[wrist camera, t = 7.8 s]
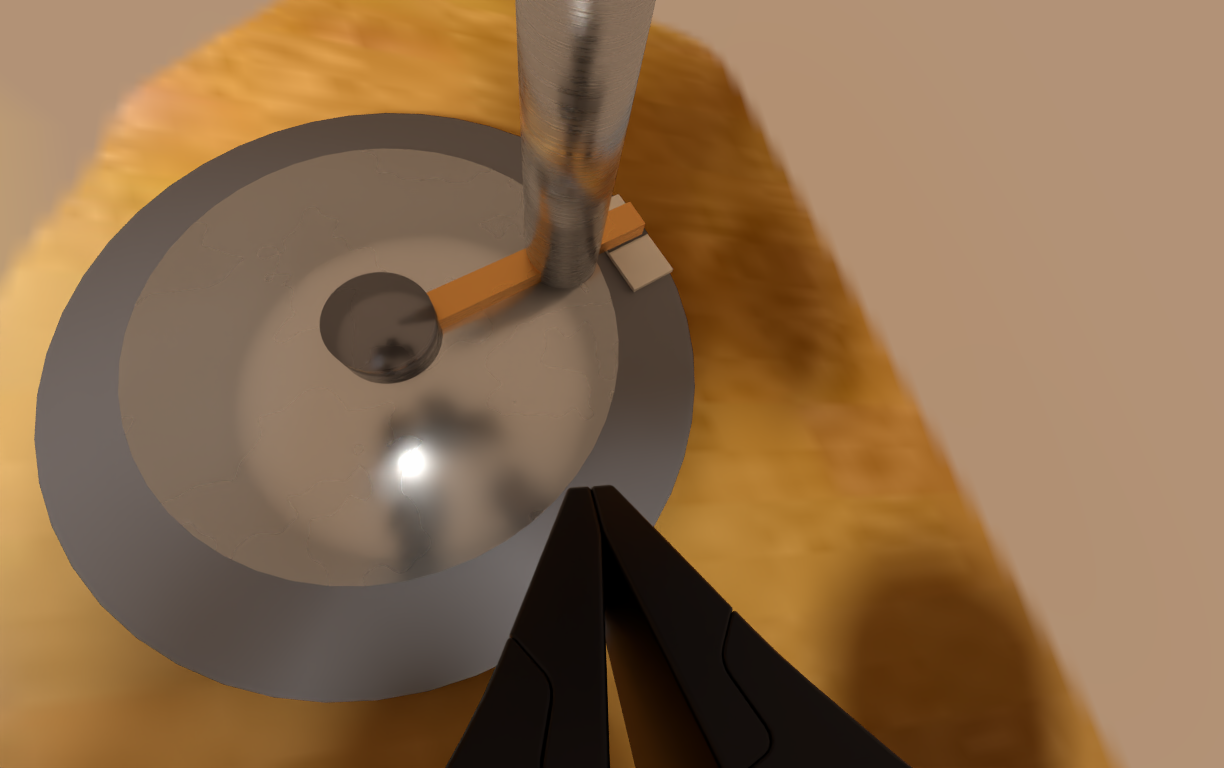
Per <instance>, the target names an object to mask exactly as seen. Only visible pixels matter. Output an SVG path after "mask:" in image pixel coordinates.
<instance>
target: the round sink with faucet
mask: <svg viewBox="0 0 1224 768" xmlns="http://www.w3.org/2000/svg"><path fill="white" fill-rule="evenodd" d="M655 1H656V0H516V24H517V49H518V74H519V99H520V124H521V149H522V174H523V185H522V184H520V183H518V182H517V181H515V180H513V179H512V178H510V177H508V176H505V175H503V174H501V173H499V172H497V171H495V170H493V169H491V168H488V167H486V166H483V165H480V164H477V163H474V162H471V161H468V160H465V159H462V158H458V157H454V156H449V155H445V154H441V153H436V152H428V151H420V150H412V149H383V148H380V149H367V150H354V151H347V152H342V153H336V154H330V155H325V156H321V157H317V158H314V159H310V160H306V161H303V162H299V163H296V164H293V165H290V166H288V167H285V168H283V169H280V170H278V171H275V172H273V173H270V174H268V175H266V176H264V177H262V178H260V179H258V180H256V181H254V182H252V183H250V184H248V185H246V186H245V187H243V188H241V189H239V190H237V191H236V192H234V193H233V194H231V195H230V196H228V197H227V198H225V199H224V200H223V201H221V202H220V203H218V204H217V205H215V206H214V207H212V208H211V209H210V210H209V211H208V212H207V213H205V214H204V215H203V216H202V217H201V218H199V219H198V220H197V221H196V222H195V223H194V224H192V225H191V226H190V227H189V228H188V229H187V230H186V231H185V232H184V234H183V235H182V236H181V237H180V238H179V239H178V240H177V241H176V242H175V243H174V244H173V245H172V246H171V248H170V249H169V250H168V251H167V253H166V254H165V255H164V257H163V258H162V260H161V261H160V262H159V264H158V265H157V266H156V268H155V269H154V271H153V272H152V273H151V275H150V277H149V279H148V280H147V282H146V284H145V286H144V288H143V290H142V292H141V294H140V296H139V297H138V299H137V301H136V303H135V306H134V309H133V312H132V314H131V317H130V320H129V323H128V326H127V328H126V331H125V335H124V341H123V346H122V351H121V356H120V361H119V383H118V397H119V405H120V412H121V419H122V426H123V429H124V433H125V436H126V439H127V442H128V445H129V448H130V451H131V454H132V457H133V459H134V461H135V463H136V465H137V467H138V469H139V471H140V473H141V474H142V476H143V478H144V480H145V482H146V484H147V486H148V487H149V488H150V490H151V491H152V492H153V494H154V495H155V496H156V498H157V499H158V500H159V501H160V503H161V504H162V505H163V507H164V508H165V509H166V511H167V512H168V513H169V514H170V515H171V516H172V517H173V518H174V519H176V520H177V521H178V522H179V523H180V524H181V525H182V526H183V527H184V528H185V529H186V530H187V531H189V532H190V533H191V534H192V535H193V536H194V537H196V538H197V539H199V540H200V541H202V542H203V543H205V544H206V545H208V546H209V547H211V548H212V549H214V550H215V551H217V552H218V553H220V554H221V555H223V556H225V557H227V558H229V559H232V560H234V561H236V562H238V563H240V564H243V565H245V566H247V567H249V568H251V569H254V570H256V571H259V572H263V573H266V574H270V575H273V576H276V577H280V578H283V579H287V580H290V581H296V582H303V583H311V584H318V585H325V586H372V585H380V584H387V583H395V582H403V581H407V580H411V579H415V578H419V577H423V576H426V575H430V574H434V573H438V572H441V571H444V570H446V569H449V568H451V567H454V566H456V565H459V564H461V563H464V562H466V561H469V560H471V559H474V558H476V557H478V556H480V555H482V554H484V553H486V552H487V551H489V550H491V549H493V548H495V547H497V546H498V545H500V544H502V543H504V542H506V541H507V540H509V539H510V538H512V537H513V536H514V535H516V534H517V533H518V532H520V531H521V530H523V529H524V528H525V527H527V526H528V525H529V524H531V523H532V522H533V521H535V520H536V519H537V518H538V517H539V516H540V515H541V514H542V513H543V512H544V511H545V510H546V509H547V508H548V507H549V506H550V505H551V504H553V503H554V502H555V501H556V500H557V498H558V497H559V496H560V495H561V493H562V492H563V491H564V490H565V489H566V487H567V486H568V485H569V484H570V482H571V481H572V480H573V479H574V478H575V476H576V475H577V473H578V472H579V470H580V469H581V467H582V465H583V464H584V462H585V461H586V459H587V457H588V456H589V454H590V453H591V451H592V449H593V448H594V446H595V443H596V441H597V439H598V437H599V435H600V432H601V430H602V428H603V426H604V424H605V421H606V418H607V415H608V412H609V408H610V405H611V402H612V398H613V395H614V390H615V384H616V377H617V371H618V346H619V339H618V331H617V323H616V315H615V311H614V307H613V303H612V300H611V296H610V292H609V289H608V287H607V284H606V282H605V279H604V277H603V275H602V272H601V270H600V267H599V266H598V264H597V260H598V255H599V254H601V253H603V252H605V251H607V250H610V249H612V248H614V247H616V246H618V245H620V244H622V243H624V242H626V241H628V240H631V239H633V238H635V237H637V236H639V235H641V234H642V232H643V230H644V227H645V222H644V221H643V219H642V218H641V217H640V215H639V214H638V212H637V211H636V210H635V208H634V207H633V205H632V204H631V202H628V203H625V204H623V205H621V206H619V207H616V208H614V209H612V210H610V211H609V206H610V202H611V197H612V193H613V189H614V184H615V180H616V175H617V171H618V166H619V162H620V157H621V153H622V148H623V144H624V139H625V135H626V131H627V126H628V122H629V117H630V113H631V108H632V104H633V99H634V95H635V90H636V86H637V81H638V77H639V73H640V68H641V64H642V59H643V55H644V50H645V46H646V41H647V37H648V32H649V28H650V23H651V19H652V15H653V10H654V5H655Z"/></svg>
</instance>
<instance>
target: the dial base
mask: <svg viewBox="0 0 1224 768" xmlns="http://www.w3.org/2000/svg"><path fill="white" fill-rule="evenodd" d="M380 148H383V149H412V150H420V151H428V152H436V153H441V154H445V155H449V156H454V157H458V158H462V159H465V160H468V161H471V162H474V163H477V164H480V165H483V166H486V167H488V168H491V169H493V170H495V171H497V172H499V173H501V174H503V175H505V176H508V177H510V178H512V179H513V180H515V181H517V182H518V183H520V184H522V185H523V174H522V149H521V137H519V136H516V135H513V134H510V133H507V132H504V131H501V130H499V129H496V128H493V127H490V126H486V125H481V124H477V123H473V122H468V121H464V120H460V119H455V118H447V117H439V116H431V115H423V114H396V113H381V114H367V115H353V116H345V117H339V118H333V119H327V120H321V121H315V122H310V123H307V124H303V125H299V126H296V127H292V128H288V129H285V130H281V131H277V132H274V133H272V134H269V135H266V136H264V137H261V138H259V139H256V140H253V141H251V142H248V143H246V144H243V145H240V146H238V147H236V148H234V149H232V150H230V151H228V152H226V153H224V154H222V155H220V156H218V157H216V158H214V159H212V160H210V161H209V162H207V163H205V164H203V165H201V166H200V167H198V168H197V169H195V170H194V171H192V172H190V173H189V174H187V175H186V176H184V177H183V178H181V179H180V180H178V181H177V182H175V183H173V184H172V185H170V186H169V187H168V188H167V189H165V190H164V191H163V192H162V193H160V194H159V195H158V196H157V197H156V198H154V199H153V200H152V201H151V202H149V203H148V204H147V205H146V206H145V207H143V208H142V209H141V210H140V211H138V212H137V213H136V214H135V215H134V216H133V217H132V219H131V220H130V221H129V222H128V223H127V224H126V225H125V226H124V227H123V228H122V229H121V230H120V231H119V232H118V233H117V234H116V235H115V236H114V237H113V238H112V239H111V240H110V241H109V242H108V244H107V245H106V246H105V248H104V249H103V250H102V252H101V253H100V254H99V256H98V257H97V258H96V260H95V261H94V262H93V264H92V265H91V266H90V268H89V269H88V270H87V272H86V273H85V274H84V276H83V277H82V279H81V281H80V283H79V284H78V286H77V288H76V290H75V291H74V293H73V295H72V297H71V299H70V300H69V302H68V304H67V306H66V307H65V309H64V311H63V313H62V315H61V318H60V320H59V323H58V325H57V328H56V331H55V333H54V336H53V338H52V341H51V343H50V346H49V349H48V351H47V354H46V358H45V363H44V367H43V372H42V376H41V381H40V385H39V390H38V394H37V406H36V422H35V439H34V440H35V449H36V458H37V467H38V476H39V484H40V488H41V491H42V494H43V498H44V501H45V505H46V508H47V511H48V515H49V518H50V522H51V525H52V528H53V530H54V532H55V534H56V536H57V538H58V540H59V542H60V544H61V546H62V548H63V550H64V552H65V554H66V556H67V558H68V560H69V562H70V563H71V565H72V567H73V569H74V570H75V571H76V573H77V574H78V575H79V577H80V578H81V579H82V581H83V582H84V583H85V585H86V586H87V587H88V589H89V590H90V591H91V593H92V594H93V595H94V597H95V598H96V599H97V601H98V602H99V603H100V605H101V606H103V607H104V608H105V609H106V610H107V611H108V612H109V613H110V614H111V615H112V616H113V617H114V618H115V619H117V620H118V621H119V622H120V623H121V624H122V625H123V626H124V627H125V628H126V629H127V630H128V631H130V632H131V633H132V634H133V635H134V636H135V637H136V638H138V639H139V640H141V641H142V642H144V643H145V644H147V645H148V646H150V647H151V648H153V649H155V650H156V651H158V652H159V653H161V654H162V655H164V656H165V657H167V658H168V659H170V660H172V661H173V662H175V663H176V664H178V665H180V666H182V667H185V668H187V669H189V670H192V671H194V672H196V673H199V674H201V675H203V676H206V677H208V678H210V679H212V680H215V681H217V682H219V683H222V684H224V685H228V686H232V687H236V688H240V689H244V690H248V691H251V692H255V693H259V694H263V695H267V696H271V697H276V698H286V699H296V700H306V701H316V702H349V701H372V700H382V699H387V698H393V697H398V696H404V695H409V694H415V693H420V692H426V691H430V690H433V689H436V688H439V687H442V686H446V685H449V684H452V683H455V682H458V681H461V680H464V679H467V678H470V677H473V676H476V675H479V674H481V673H483V672H485V671H487V670H489V669H491V668H493V667H495V666H496V665H497V663H498V661H499V658H500V656H501V653H502V651H503V648H504V646H505V643H506V641H507V639H508V638H509V634H510V632H511V629H512V627H513V624H514V622H515V619H516V617H517V614H518V612H519V609H520V607H521V604H522V601H523V599H524V596H525V594H526V591H527V589H528V586H529V584H530V581H531V579H532V576H533V574H534V571H535V569H536V566H537V564H538V561H539V559H540V556H541V554H542V551H543V549H544V546H545V544H546V541H547V539H548V536H549V534H550V531H551V529H552V526H553V524H554V521H555V519H556V516H557V514H558V511H559V509H560V506H561V504H562V501H563V499H564V496H565V494H566V491H567V490H568V489H569V488H571V487H584V486H587V487H589V488H590V489H591V488H592V487H593V486H599V485H612V486H614V487H615V488H616V489H617V490H618V491H619V492H620V493H621V494H622V495H623V496H624V497H625V498H626V499H627V500H628V501H629V502H630V503H631V504H632V505H633V506H634V507H635V508H636V509H637V510H638V511H639V512H640V513H641V515H642V516H643V517H644V518H645V519H646V520H647V521H648V522H649V523H650V524H651V525H652V526H653V527H654V525H655V523H656V521H657V520H658V518H659V516H660V514H661V512H662V510H663V508H664V506H665V504H666V502H667V500H668V498H669V497H670V495H671V492H672V489H673V486H674V484H675V481H676V478H677V475H678V473H679V470H680V467H681V465H682V462H683V459H684V455H685V450H686V446H687V441H688V437H689V432H690V428H691V423H692V413H693V401H694V389H695V382H694V362H693V350H692V344H691V339H690V333H689V328H688V322H687V318H686V315H685V312H684V309H683V306H682V303H681V299H680V296H679V293H678V290H677V288H676V285H675V283H674V281H673V279H672V277H671V275H670V273H671V272H672V271H673V268H672V267H671V265H670V264H669V263H668V261H667V260H666V259H665V257H664V256H663V254H662V253H661V252H660V250H659V249H658V248H657V246H656V245H655V243H654V242H653V241H652V239H651V238H650V237H649V235H648V233H647V231H646V230H645V229H644V230H643V232H642V234H641V235H639V236H637V237H635V238H633V239H631V240H628V241H626V242H624V243H622V244H620V245H618V246H616V247H614V248H612V249H610V250H607V251H605V252H603V253H601V254H599V255H598V260H597V264H598V266H599V267H600V270H601V272H602V275H603V277H604V279H605V282H606V284H607V287H608V289H609V292H610V296H611V300H612V303H613V307H614V311H615V315H616V323H617V331H618V339H619V346H618V371H617V377H616V384H615V390H614V395H613V398H612V402H611V405H610V408H609V412H608V415H607V418H606V421H605V424H604V426H603V428H602V430H601V432H600V435H599V437H598V439H597V441H596V443H595V446H594V448H593V449H592V451H591V453H590V454H589V456H588V457H587V459H586V461H585V462H584V464H583V465H582V467H581V469H580V470H579V472H578V473H577V475H576V476H575V478H574V479H573V480H572V481H571V482H570V484H569V485H568V486H567V487H566V489H565V490H564V491H563V492H562V493H561V495H560V496H559V497H558V498H557V500H556V501H555V502H554V503H553V504H551V505H550V506H549V507H548V508H547V509H546V510H545V511H544V512H543V513H542V514H541V515H540V516H539V517H538V518H537V519H536V520H535V521H533V522H532V523H531V524H529V525H528V526H527V527H525V528H524V529H523V530H521V531H520V532H518V533H517V534H516V535H514V536H513V537H512V538H510V539H509V540H507V541H506V542H504V543H502V544H500V545H498V546H497V547H495V548H493V549H491V550H489V551H487V552H486V553H484V554H482V555H480V556H478V557H476V558H474V559H471V560H469V561H466V562H464V563H461V564H459V565H456V566H454V567H451V568H449V569H446V570H444V571H441V572H438V573H434V574H430V575H426V576H423V577H419V578H415V579H411V580H407V581H403V582H395V583H387V584H380V585H372V586H325V585H318V584H311V583H303V582H296V581H290V580H287V579H283V578H280V577H276V576H273V575H270V574H266V573H263V572H259V571H256V570H254V569H251V568H249V567H247V566H245V565H243V564H240V563H238V562H236V561H234V560H232V559H229V558H227V557H225V556H223V555H221V554H220V553H218V552H217V551H215V550H214V549H212V548H211V547H209V546H208V545H206V544H205V543H203V542H202V541H200V540H199V539H197V538H196V537H194V536H193V535H192V534H191V533H190V532H189V531H187V530H186V529H185V528H184V527H183V526H182V525H181V524H180V523H179V522H178V521H177V520H176V519H174V518H173V517H172V516H171V515H170V514H169V513H168V512H167V511H166V509H165V508H164V507H163V505H162V504H161V503H160V501H159V500H158V499H157V498H156V496H155V495H154V494H153V492H152V491H151V490H150V488H149V487H148V486H147V484H146V482H145V480H144V478H143V476H142V474H141V473H140V471H139V469H138V467H137V465H136V463H135V461H134V459H133V457H132V454H131V451H130V448H129V445H128V442H127V439H126V436H125V433H124V429H123V426H122V419H121V412H120V405H119V397H118V383H119V361H120V356H121V351H122V346H123V341H124V335H125V331H126V328H127V326H128V323H129V320H130V317H131V314H132V312H133V309H134V306H135V303H136V301H137V299H138V297H139V296H140V294H141V292H142V290H143V288H144V286H145V284H146V282H147V280H148V279H149V277H150V275H151V273H152V272H153V271H154V269H155V268H156V266H157V265H158V264H159V262H160V261H161V260H162V258H163V257H164V255H165V254H166V253H167V251H168V250H169V249H170V248H171V246H172V245H173V244H174V243H175V242H176V241H177V240H178V239H179V238H180V237H181V236H182V235H183V234H184V232H185V231H186V230H187V229H188V228H189V227H190V226H191V225H192V224H194V223H195V222H196V221H197V220H198V219H199V218H201V217H202V216H203V215H204V214H205V213H207V212H208V211H209V210H210V209H211V208H212V207H214V206H215V205H217V204H218V203H220V202H221V201H223V200H224V199H225V198H227V197H228V196H230V195H231V194H233V193H234V192H236V191H237V190H239V189H241V188H243V187H245V186H246V185H248V184H250V183H252V182H254V181H256V180H258V179H260V178H262V177H264V176H266V175H268V174H270V173H273V172H275V171H278V170H280V169H283V168H285V167H288V166H290V165H293V164H296V163H299V162H303V161H306V160H310V159H314V158H317V157H321V156H325V155H330V154H336V153H342V152H347V151H354V150H367V149H380ZM623 204H625V202H624V201H623V199H622V198H621V197H620V195H619V194H617V195H615V196H613V195H612V197H611V202H610V206H609V211H610V210H612V209H614V208H616V207H619V206H621V205H623Z"/></svg>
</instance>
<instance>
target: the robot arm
mask: <svg viewBox="0 0 1224 768" xmlns="http://www.w3.org/2000/svg"><path fill="white" fill-rule="evenodd" d="M606 645H607V649H608V654H609V658H610V662H611V666H612V671H613V675H614V679H615V683H616V687H617V692H618V696H619V700H620V704H621V709H622V713H623V717H624V721H625V725H626V730H627V734H628V738H629V742H630V747H631V751H632V755H633V759H634V764H635V768H913V767H911V766H910V765H908V764H907V763H906V762H905V761H903V760H902V759H901V758H900V757H898V756H897V755H896V754H895V753H893V752H892V751H891V750H890V749H889V748H888V747H886V746H885V745H884V744H883V743H882V742H881V741H879V740H878V739H877V738H876V737H875V736H873V735H872V734H871V733H870V732H869V731H868V730H866V729H865V728H864V727H863V726H862V725H861V724H859V723H858V722H857V721H856V720H855V719H854V718H852V717H851V716H850V715H849V714H848V713H846V712H845V711H844V710H843V709H842V708H841V707H839V706H838V705H837V704H836V703H835V702H834V701H832V700H831V699H830V698H829V697H828V696H827V695H825V694H824V693H823V692H822V691H821V690H819V689H818V688H817V687H816V686H815V685H814V684H812V683H811V682H810V681H809V680H808V679H807V678H806V677H804V676H803V675H802V674H801V673H800V672H799V671H798V670H797V669H795V668H794V667H793V666H792V665H791V664H790V663H789V662H788V661H786V660H785V659H784V658H783V657H782V656H781V655H780V654H779V653H778V652H777V651H776V650H775V649H773V648H772V647H771V646H770V645H769V644H768V643H767V642H766V641H765V640H764V639H763V638H762V637H761V636H760V635H759V634H758V633H757V632H756V631H755V630H754V629H753V628H752V627H751V626H750V625H749V624H748V623H747V622H746V621H745V620H744V619H743V618H742V617H741V616H740V615H739V614H738V613H737V612H736V611H733V612H732V607H731V606H730V605H729V604H728V603H727V602H726V601H725V600H724V599H723V598H722V597H721V596H720V594H719V593H718V592H717V591H716V590H715V589H714V588H713V587H712V586H711V585H710V584H709V583H708V582H707V581H706V580H705V579H704V578H703V577H702V576H701V575H700V574H699V573H698V572H697V571H696V570H695V569H694V568H693V567H692V566H691V565H690V564H689V563H688V562H687V561H686V560H685V559H684V558H683V557H682V556H681V554H680V553H679V552H678V551H677V550H676V549H675V548H674V547H673V546H672V545H671V544H670V543H669V542H668V541H667V540H666V539H665V538H664V537H663V536H662V535H661V534H660V533H659V532H658V531H657V530H656V529H655V528H654V527H653V526H652V525H651V524H650V523H649V522H648V521H647V520H646V519H645V518H644V517H643V516H642V515H641V513H640V512H639V511H638V510H637V509H636V508H635V507H634V506H633V505H632V504H631V503H630V502H629V501H628V500H627V499H626V498H625V497H624V496H623V495H622V494H621V493H620V492H619V491H618V490H617V489H616V488H615V487H614V486H612V485H599V486H593V487H592V488H591V489H590V488H589V487H587V486H584V487H571V488H569V489H568V490H567V491H566V494H565V496H564V499H563V501H562V504H561V506H560V509H559V511H558V514H557V516H556V519H555V521H554V524H553V526H552V529H551V531H550V534H549V536H548V539H547V541H546V544H545V546H544V549H543V551H542V554H541V556H540V559H539V561H538V564H537V566H536V569H535V571H534V574H533V576H532V579H531V581H530V584H529V586H528V589H527V591H526V594H525V596H524V599H523V601H522V604H521V607H520V609H519V612H518V614H517V617H516V619H515V622H514V624H513V627H512V629H511V632H510V634H509V638H508V639H507V641H506V643H505V646H504V648H503V651H502V653H501V656H500V658H499V661H498V663H497V665H496V668H495V670H494V672H493V675H492V677H491V679H490V681H489V684H488V686H487V688H486V690H485V693H484V695H483V697H482V699H481V701H480V703H479V705H478V707H477V709H476V711H475V713H474V715H473V717H472V719H471V721H470V723H469V725H468V727H467V729H466V731H465V732H464V734H463V736H462V738H461V740H460V742H459V744H458V746H457V747H456V749H455V751H454V753H453V755H452V757H451V758H450V760H449V762H448V764H447V766H446V768H610V755H609V725H608V695H607V665H606Z"/></svg>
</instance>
